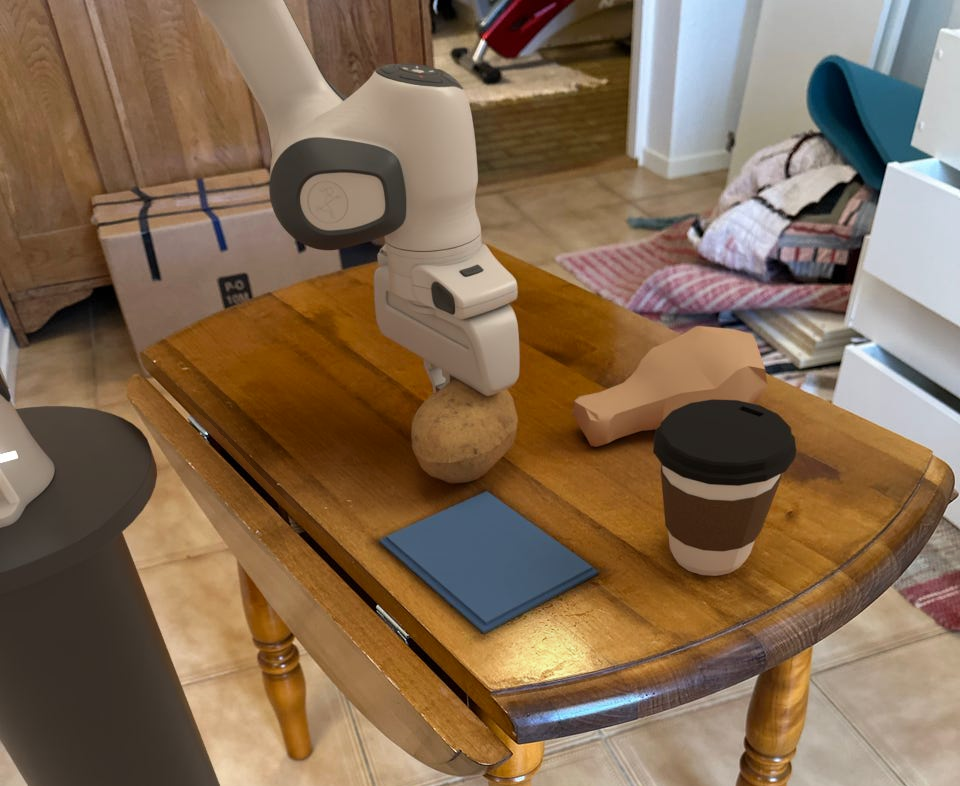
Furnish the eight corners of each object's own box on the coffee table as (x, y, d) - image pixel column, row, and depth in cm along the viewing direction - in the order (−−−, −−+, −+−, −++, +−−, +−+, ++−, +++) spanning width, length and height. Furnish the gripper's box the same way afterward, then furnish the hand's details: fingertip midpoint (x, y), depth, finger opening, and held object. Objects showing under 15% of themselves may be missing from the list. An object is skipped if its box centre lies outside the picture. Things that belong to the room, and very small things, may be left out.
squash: (783, 426, 95) (796, 353, 88) (604, 490, 93) (602, 421, 86) (730, 366, 101) (739, 294, 94) (561, 425, 99) (557, 355, 92)
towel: (483, 634, 74) (483, 628, 73) (379, 542, 83) (378, 537, 83) (598, 573, 78) (598, 568, 78) (486, 494, 88) (486, 488, 88)
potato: (389, 498, 88) (380, 423, 83) (446, 428, 98) (441, 356, 93) (485, 517, 85) (482, 440, 80) (534, 442, 95) (534, 369, 90)
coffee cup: (691, 503, 85) (705, 382, 77) (799, 549, 79) (826, 423, 71) (618, 559, 80) (625, 435, 72) (728, 612, 74) (749, 484, 66)
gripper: (350, 246, 91) (369, 377, 101) (471, 307, 79) (481, 450, 88) (403, 230, 94) (418, 359, 103) (529, 287, 81) (533, 427, 91)
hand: (448, 401), depth 95 cm, fingers closed
